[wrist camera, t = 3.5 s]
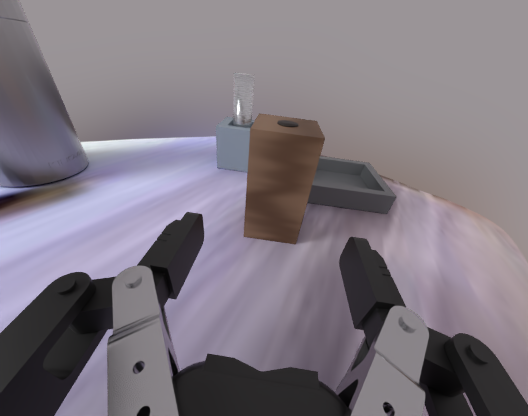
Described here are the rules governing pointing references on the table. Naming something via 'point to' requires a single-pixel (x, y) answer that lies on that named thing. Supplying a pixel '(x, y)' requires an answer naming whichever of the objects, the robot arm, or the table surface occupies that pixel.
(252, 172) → the walnut block
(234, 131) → the square socket block
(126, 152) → the table surface
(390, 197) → the tray
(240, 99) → the cylinder
